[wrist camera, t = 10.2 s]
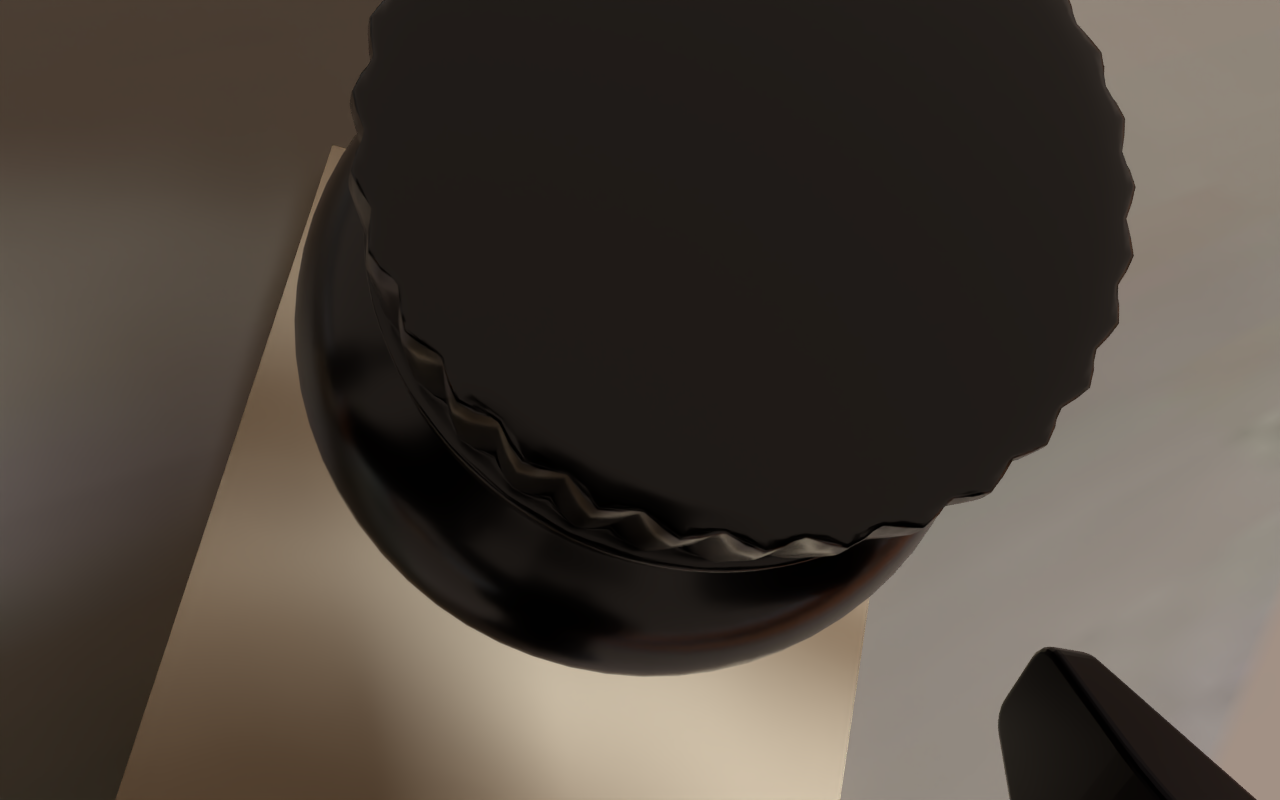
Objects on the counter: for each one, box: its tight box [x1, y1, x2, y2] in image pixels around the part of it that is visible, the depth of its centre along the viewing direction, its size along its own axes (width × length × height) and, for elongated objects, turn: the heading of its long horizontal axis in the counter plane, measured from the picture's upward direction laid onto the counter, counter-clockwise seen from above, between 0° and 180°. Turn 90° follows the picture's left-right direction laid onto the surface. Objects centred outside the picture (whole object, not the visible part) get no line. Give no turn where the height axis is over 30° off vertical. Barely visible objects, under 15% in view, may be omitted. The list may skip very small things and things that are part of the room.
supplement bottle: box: [294, 0, 1135, 677], centre depth 11 cm, size 7×7×12 cm
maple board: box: [115, 145, 869, 800], centre depth 17 cm, size 12×12×1 cm
